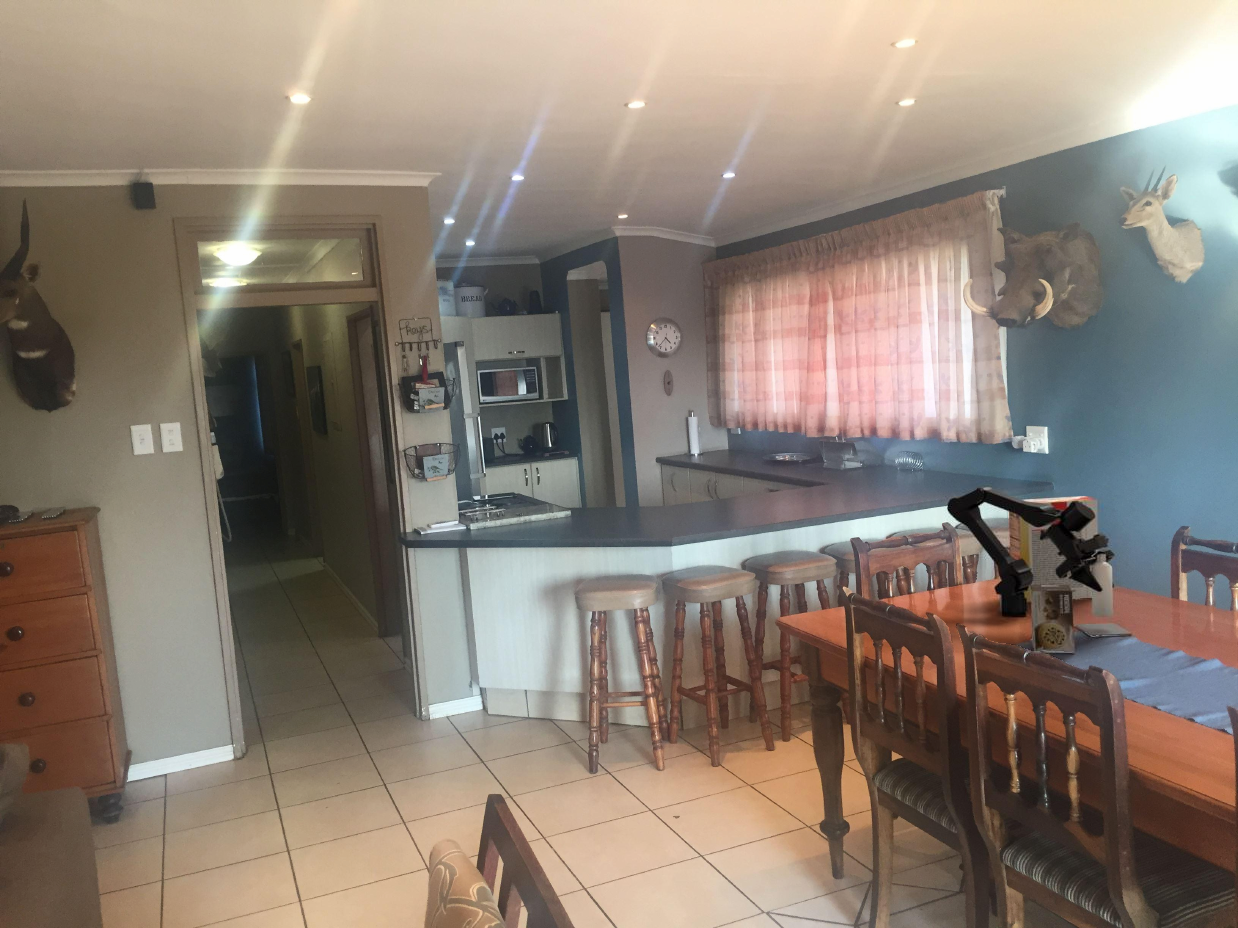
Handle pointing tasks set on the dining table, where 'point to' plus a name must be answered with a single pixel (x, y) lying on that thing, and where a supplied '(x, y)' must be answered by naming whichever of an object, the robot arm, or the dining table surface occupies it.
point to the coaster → (1103, 629)
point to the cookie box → (1052, 618)
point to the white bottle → (1103, 599)
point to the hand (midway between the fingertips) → (1107, 589)
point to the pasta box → (1049, 546)
